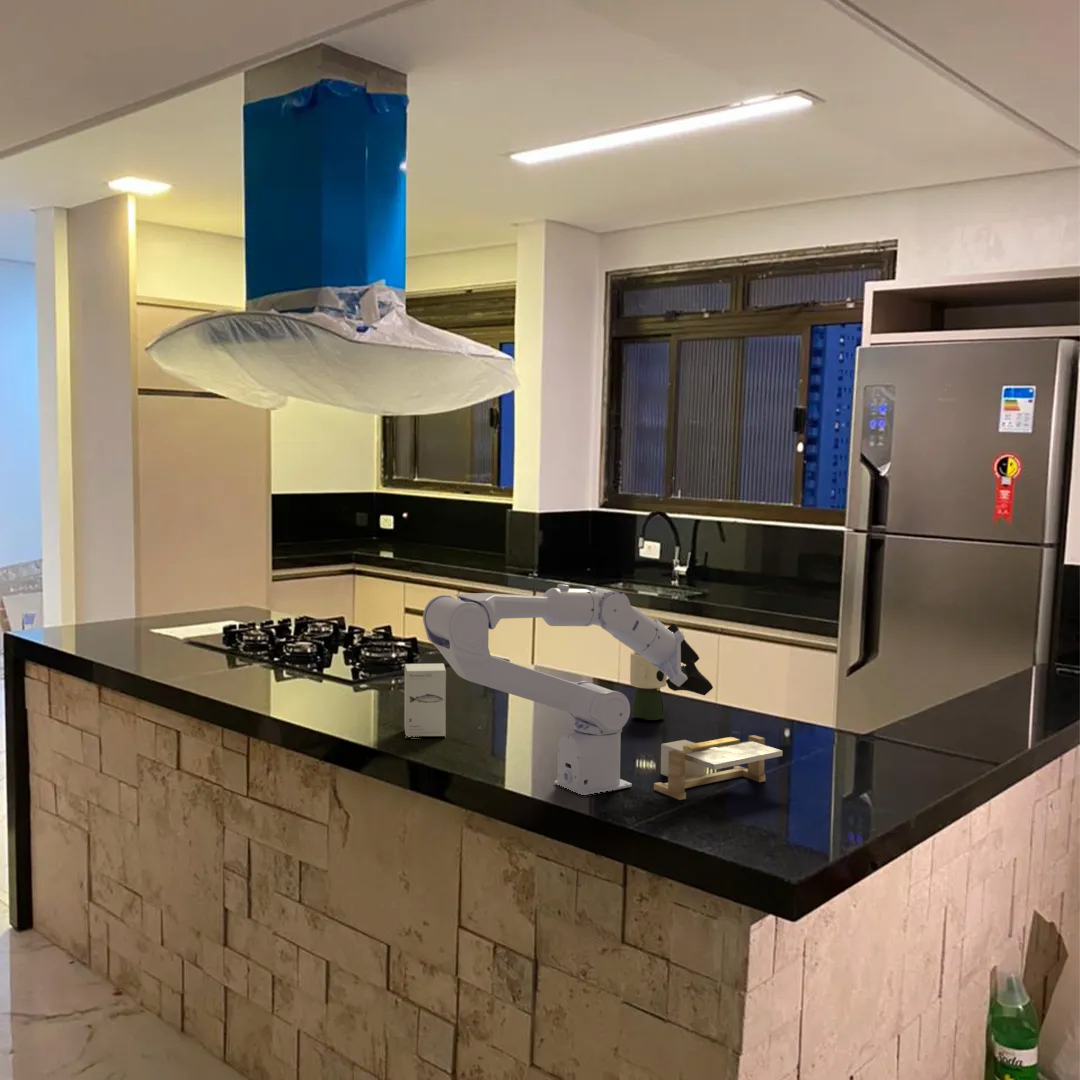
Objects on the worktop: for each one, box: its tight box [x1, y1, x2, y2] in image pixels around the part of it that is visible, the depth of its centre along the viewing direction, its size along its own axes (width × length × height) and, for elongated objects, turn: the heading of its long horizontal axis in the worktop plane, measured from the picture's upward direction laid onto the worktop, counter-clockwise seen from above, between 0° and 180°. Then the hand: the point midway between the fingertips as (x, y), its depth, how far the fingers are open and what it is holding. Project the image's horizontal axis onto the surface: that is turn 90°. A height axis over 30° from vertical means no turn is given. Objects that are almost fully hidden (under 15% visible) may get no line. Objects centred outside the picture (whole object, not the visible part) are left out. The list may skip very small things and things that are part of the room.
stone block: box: [660, 739, 706, 779], centre depth 175 cm, size 5×5×5 cm
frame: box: [653, 734, 766, 801], centre depth 169 cm, size 18×6×7 cm, turn 124°
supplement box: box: [403, 663, 447, 737], centre depth 199 cm, size 7×7×13 cm
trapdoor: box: [683, 736, 783, 771], centre depth 166 cm, size 14×9×2 cm, turn 124°
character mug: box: [629, 650, 668, 722], centre depth 212 cm, size 11×7×13 cm, turn 160°
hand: (701, 675), depth 178 cm, fingers open, 7 cm apart
